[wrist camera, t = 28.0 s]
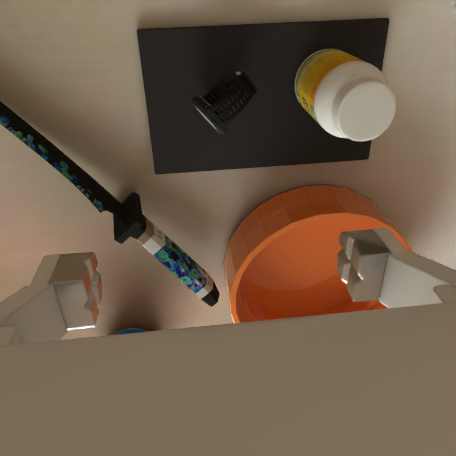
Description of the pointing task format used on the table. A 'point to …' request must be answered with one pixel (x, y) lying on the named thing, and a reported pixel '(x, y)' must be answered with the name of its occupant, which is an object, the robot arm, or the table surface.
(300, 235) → the bowl
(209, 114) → the smartwatch
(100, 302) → the robot arm
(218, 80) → the mat
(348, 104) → the supplement bottle
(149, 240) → the knife
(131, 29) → the table surface
